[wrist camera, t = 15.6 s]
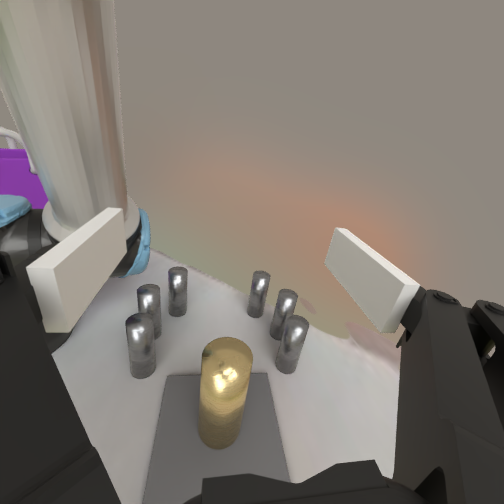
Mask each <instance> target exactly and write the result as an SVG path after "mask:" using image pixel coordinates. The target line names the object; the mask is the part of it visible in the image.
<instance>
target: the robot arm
mask: <svg viewBox="0 0 504 504" xmlns="http://www.w3.org/2000/svg"><path fill="white" fill-rule="evenodd" d="M0 90H1V92H2V94H3V97H4V99H5V101H6V104H7V106H8V108H9V111H10V113H11V115H12V117H13V120H14V122H15V124H16V127H17V129H18V131H19V134H20V136H21V138H22V140H23V143H24V145H25V147H26V150H27V152H28V154H29V156H30V159H31V161H32V163H33V166H34V168H35V170H36V172H37V175H38V177H39V179H40V182H41V184H42V186H43V188H44V191H45V193H46V195H47V198H48V200H49V201H48V202H47V203H46V205H45V207H44V209H33V208H32V204H31V203H30V202H29V201H28V199H27V198H25V197H22V196H14V195H0V504H121V502H120V500H119V498H118V495H117V493H116V491H115V489H114V487H113V484H112V482H111V480H110V478H109V475H108V473H107V471H106V469H105V467H104V464H103V462H102V460H101V458H100V456H99V454H98V452H97V450H96V449H95V447H93V446H92V444H91V442H90V440H89V438H88V436H87V434H86V431H85V429H84V427H83V425H82V422H81V420H80V418H79V416H78V413H77V411H76V409H75V407H74V404H73V402H72V400H71V398H70V395H69V393H68V391H67V389H66V386H65V384H64V382H63V380H62V377H61V375H60V373H59V371H58V368H57V366H56V364H55V362H54V359H53V357H52V355H51V353H52V352H53V351H55V350H56V349H57V348H59V347H60V346H61V345H62V344H63V343H64V342H65V341H66V340H67V338H68V337H69V336H70V334H71V332H72V330H73V327H74V325H75V324H76V323H77V321H78V320H79V318H80V317H81V316H82V314H83V313H84V311H85V310H86V309H87V307H88V306H89V304H90V303H91V302H92V300H93V299H94V297H95V296H96V295H97V293H98V292H99V290H100V289H101V288H102V286H103V285H104V283H105V282H106V281H107V279H108V278H114V277H119V278H124V277H127V276H130V275H135V274H139V273H142V272H143V271H144V270H145V269H146V267H147V265H148V261H149V256H150V247H149V246H150V224H149V219H148V215H147V213H146V212H145V211H144V210H143V209H139V208H137V205H136V203H135V202H134V201H133V200H132V199H131V198H130V197H129V196H128V195H127V185H126V170H125V156H124V141H123V126H122V111H121V97H120V83H119V68H118V53H117V38H116V24H115V9H114V0H0ZM325 265H326V266H327V268H328V269H329V270H330V271H331V273H332V274H333V275H334V276H335V278H336V279H337V280H338V281H339V282H340V284H341V285H342V286H343V287H344V288H345V290H346V291H347V292H348V294H349V295H350V296H351V297H352V298H353V300H354V301H355V302H356V303H357V304H358V306H359V307H360V308H361V309H362V311H363V312H364V313H365V314H366V316H367V317H368V318H369V319H370V321H371V322H372V323H373V324H374V325H375V327H376V328H377V329H378V330H379V332H380V333H395V332H396V330H397V328H398V326H399V324H400V323H401V324H402V325H403V326H404V327H405V328H406V329H405V331H404V333H403V335H402V336H401V338H400V340H399V342H398V343H397V345H396V347H397V348H399V346H401V363H400V380H399V397H398V414H397V431H396V448H395V464H394V474H393V478H392V479H390V478H387V477H384V476H382V474H381V472H380V470H379V468H378V466H377V464H376V462H375V460H366V461H357V462H348V463H339V464H335V465H333V466H331V467H330V468H328V469H326V470H324V471H322V472H320V473H318V474H317V475H315V476H313V477H311V478H309V479H307V480H305V481H304V482H302V483H297V484H295V483H290V482H286V481H281V480H277V479H273V478H268V477H264V476H259V475H255V474H251V473H246V474H237V475H228V476H219V477H209V478H203V479H202V489H201V494H199V495H197V496H195V497H193V498H191V499H189V500H187V501H186V502H184V503H183V504H504V307H503V306H501V305H498V304H496V303H493V302H492V303H491V302H488V301H483V300H478V301H476V303H475V305H474V306H473V307H472V309H471V308H467V307H462V306H461V304H460V303H459V301H458V300H457V299H455V298H453V297H452V296H450V295H448V294H446V293H444V292H440V291H437V290H427V291H426V290H425V289H424V288H422V287H421V286H420V285H419V284H418V283H417V282H415V281H414V280H413V279H411V278H410V277H409V276H408V275H406V274H405V273H404V272H402V271H401V270H400V269H398V268H397V267H396V266H394V265H393V264H391V263H390V262H389V261H388V260H386V259H385V258H384V257H382V256H381V255H380V254H379V253H377V252H376V251H375V250H373V249H372V248H371V247H369V246H368V245H367V244H365V243H364V242H363V241H361V240H360V239H359V238H357V237H356V236H355V235H353V234H352V233H351V232H350V231H348V230H347V229H344V228H335V231H334V234H333V237H332V240H331V244H330V247H329V250H328V253H327V256H326V260H325ZM494 346H495V347H496V348H495V352H494V354H493V355H492V357H491V358H490V356H489V355H488V353H489V352H490V351H491V349H492V348H493V347H494Z"/></svg>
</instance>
